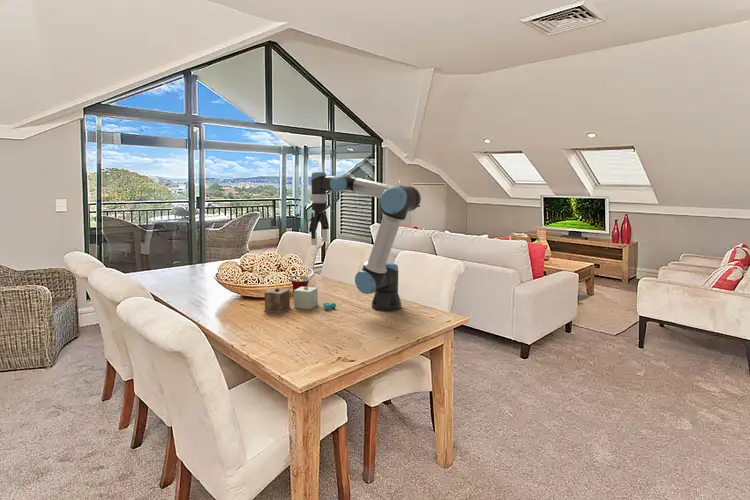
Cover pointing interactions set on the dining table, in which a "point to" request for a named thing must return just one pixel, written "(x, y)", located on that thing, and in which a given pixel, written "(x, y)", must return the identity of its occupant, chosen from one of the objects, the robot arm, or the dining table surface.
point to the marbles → (327, 306)
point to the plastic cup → (299, 282)
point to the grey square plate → (278, 311)
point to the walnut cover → (277, 299)
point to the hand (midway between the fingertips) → (319, 243)
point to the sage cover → (305, 297)
